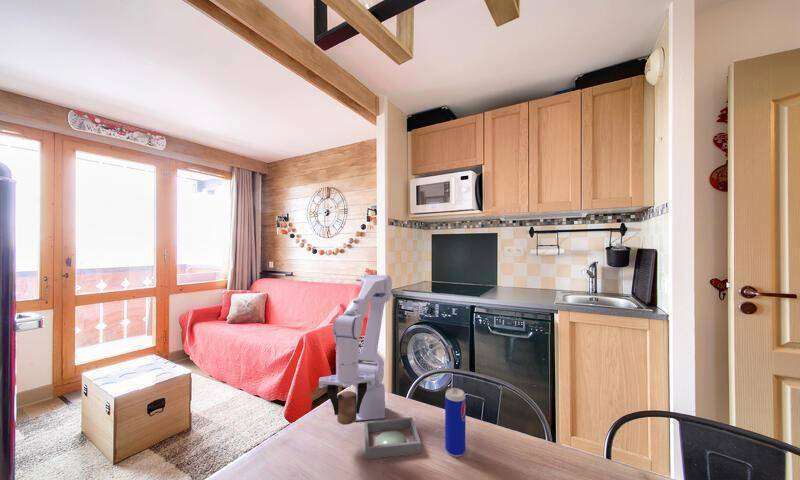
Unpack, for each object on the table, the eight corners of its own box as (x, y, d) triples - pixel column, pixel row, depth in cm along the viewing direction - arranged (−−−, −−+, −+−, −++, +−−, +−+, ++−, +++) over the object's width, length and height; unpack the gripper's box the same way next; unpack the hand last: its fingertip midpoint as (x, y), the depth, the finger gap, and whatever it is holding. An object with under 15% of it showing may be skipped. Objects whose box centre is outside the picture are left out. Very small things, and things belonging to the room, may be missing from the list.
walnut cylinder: (356, 412, 79) (356, 390, 79) (356, 423, 74) (356, 400, 74) (337, 414, 78) (338, 391, 78) (336, 425, 73) (337, 401, 73)
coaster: (402, 430, 82) (402, 429, 82) (407, 449, 74) (407, 448, 74) (375, 433, 81) (375, 431, 81) (378, 452, 73) (378, 451, 73)
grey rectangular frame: (412, 425, 84) (412, 417, 84) (420, 452, 73) (420, 443, 73) (364, 430, 82) (364, 421, 82) (365, 459, 71) (365, 449, 71)
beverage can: (465, 459, 71) (465, 398, 71) (444, 456, 72) (444, 396, 72) (465, 445, 76) (465, 388, 76) (445, 442, 77) (445, 386, 77)
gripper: (317, 368, 71) (316, 423, 71) (375, 365, 73) (375, 419, 73) (321, 357, 78) (320, 407, 78) (374, 355, 80) (373, 403, 80)
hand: (347, 412), depth 76 cm, fingers closed on walnut cylinder, 5 cm apart
